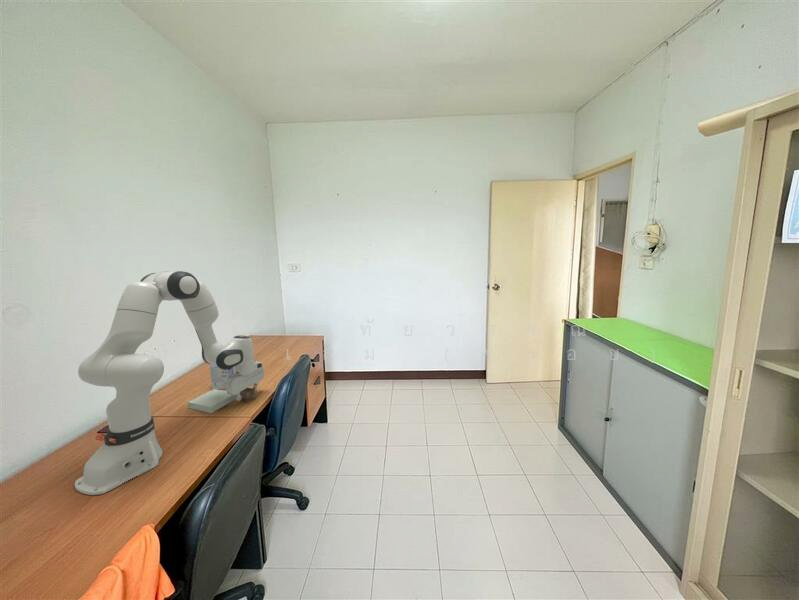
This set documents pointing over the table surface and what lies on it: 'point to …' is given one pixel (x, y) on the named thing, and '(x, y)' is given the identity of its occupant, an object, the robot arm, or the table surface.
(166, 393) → the table surface
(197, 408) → the base
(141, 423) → the robot arm
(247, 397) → the walnut cube
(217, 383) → the ink cartridge box
